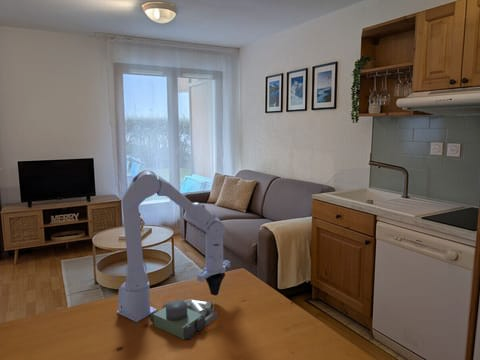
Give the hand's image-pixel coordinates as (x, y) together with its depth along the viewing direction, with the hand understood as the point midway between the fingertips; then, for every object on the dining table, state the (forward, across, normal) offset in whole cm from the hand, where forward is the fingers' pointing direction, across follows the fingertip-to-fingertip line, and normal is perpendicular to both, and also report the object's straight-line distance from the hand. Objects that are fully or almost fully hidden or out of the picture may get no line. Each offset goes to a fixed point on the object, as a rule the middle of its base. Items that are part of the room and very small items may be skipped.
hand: (214, 294), depth 116 cm
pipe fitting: (+3, -9, -1) cm, 10 cm away
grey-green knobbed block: (+3, -14, 0) cm, 14 cm away
